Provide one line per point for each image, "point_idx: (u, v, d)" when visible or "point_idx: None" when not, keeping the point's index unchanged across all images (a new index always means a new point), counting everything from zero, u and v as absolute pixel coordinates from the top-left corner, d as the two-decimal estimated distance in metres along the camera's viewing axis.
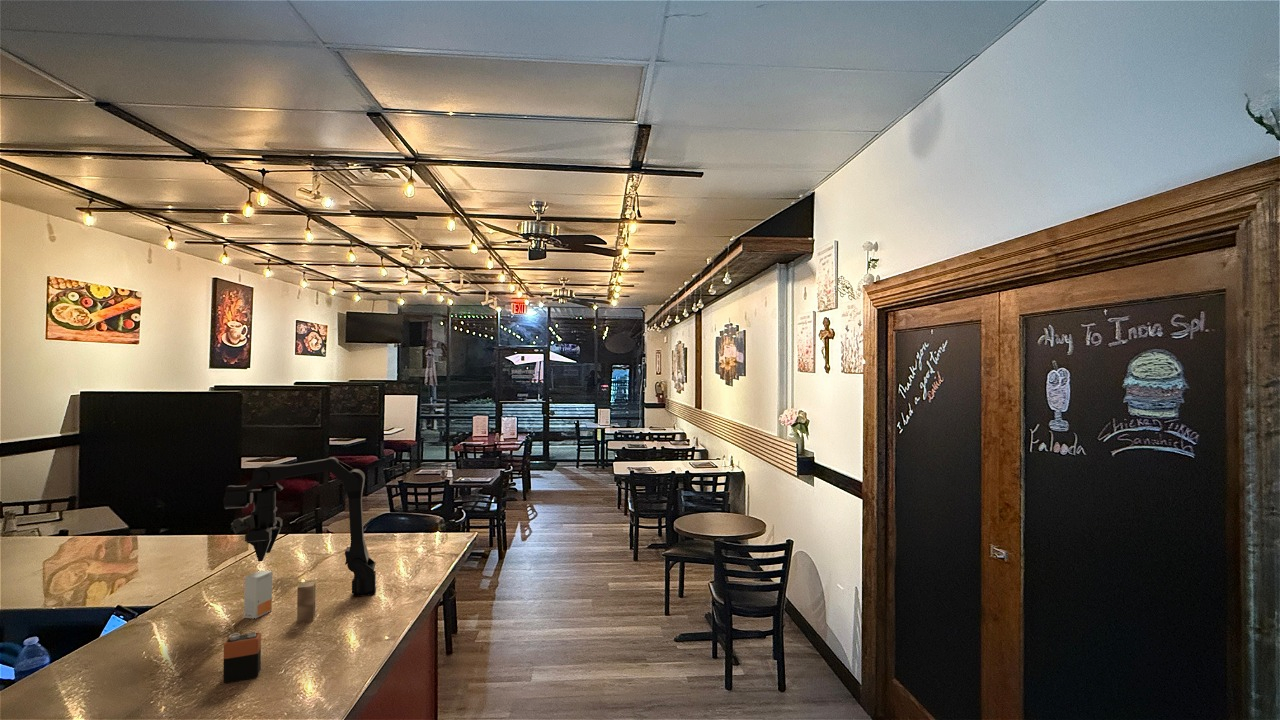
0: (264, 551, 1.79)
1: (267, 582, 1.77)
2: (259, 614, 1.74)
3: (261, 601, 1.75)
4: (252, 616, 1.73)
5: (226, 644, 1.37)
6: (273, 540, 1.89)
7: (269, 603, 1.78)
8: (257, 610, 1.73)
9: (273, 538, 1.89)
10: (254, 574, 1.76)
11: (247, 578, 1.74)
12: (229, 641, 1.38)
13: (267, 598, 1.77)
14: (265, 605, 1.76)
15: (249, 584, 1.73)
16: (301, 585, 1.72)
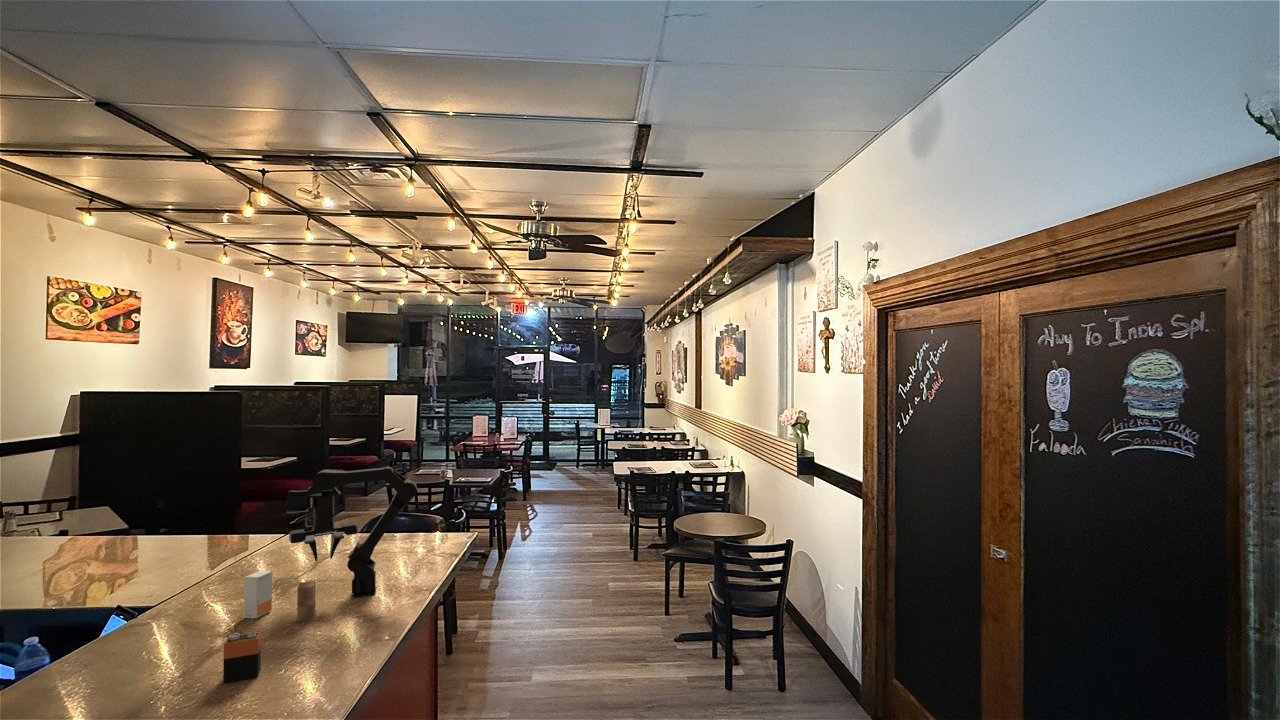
0: (312, 552, 1.86)
1: (267, 582, 1.77)
2: (259, 614, 1.74)
3: (261, 601, 1.75)
4: (252, 616, 1.73)
5: (226, 644, 1.37)
6: (332, 548, 1.90)
7: (269, 603, 1.78)
8: (257, 610, 1.73)
9: (332, 545, 1.90)
10: (254, 574, 1.76)
11: (247, 578, 1.74)
12: (229, 641, 1.38)
13: (267, 598, 1.77)
14: (265, 605, 1.76)
15: (249, 584, 1.73)
16: (301, 585, 1.72)
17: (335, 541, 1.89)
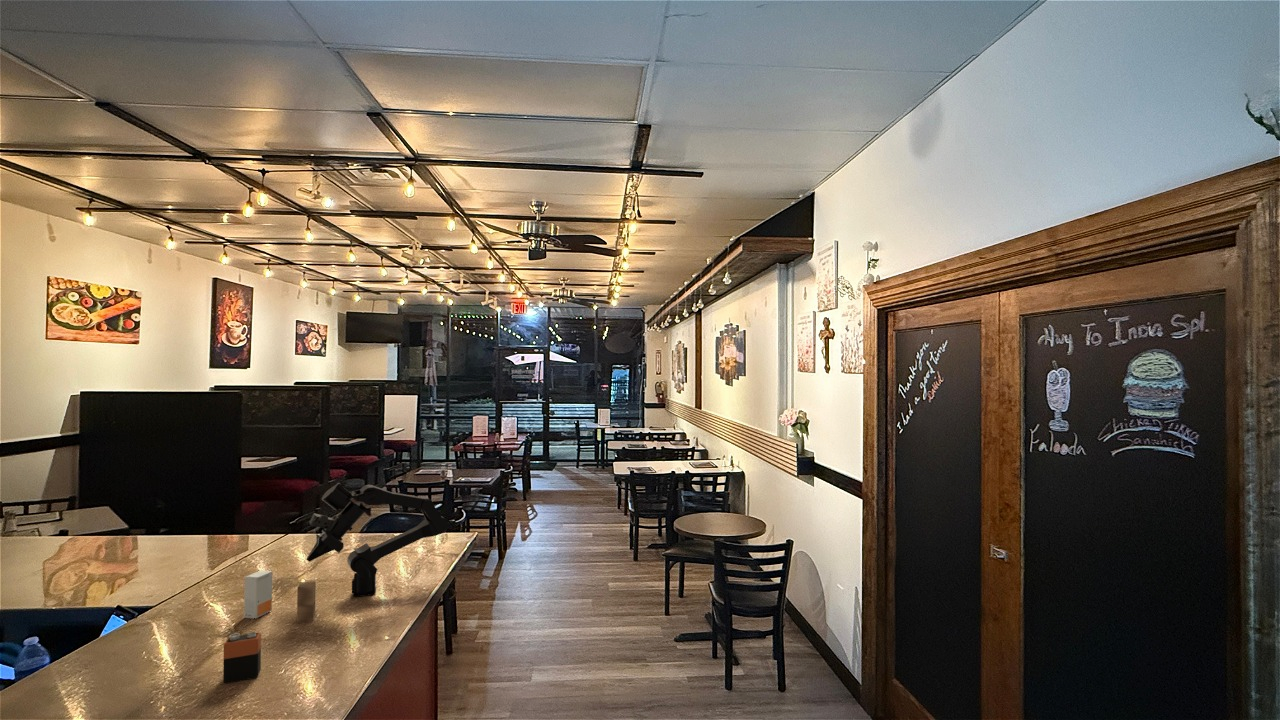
0: (319, 555, 1.85)
1: (267, 582, 1.77)
2: (259, 614, 1.74)
3: (261, 601, 1.75)
4: (252, 616, 1.73)
5: (226, 644, 1.37)
6: None
7: (269, 603, 1.78)
8: (257, 610, 1.73)
9: None
10: (254, 574, 1.76)
11: (247, 578, 1.74)
12: (229, 641, 1.38)
13: (267, 598, 1.77)
14: (265, 605, 1.76)
15: (249, 584, 1.73)
16: (301, 585, 1.72)
17: None
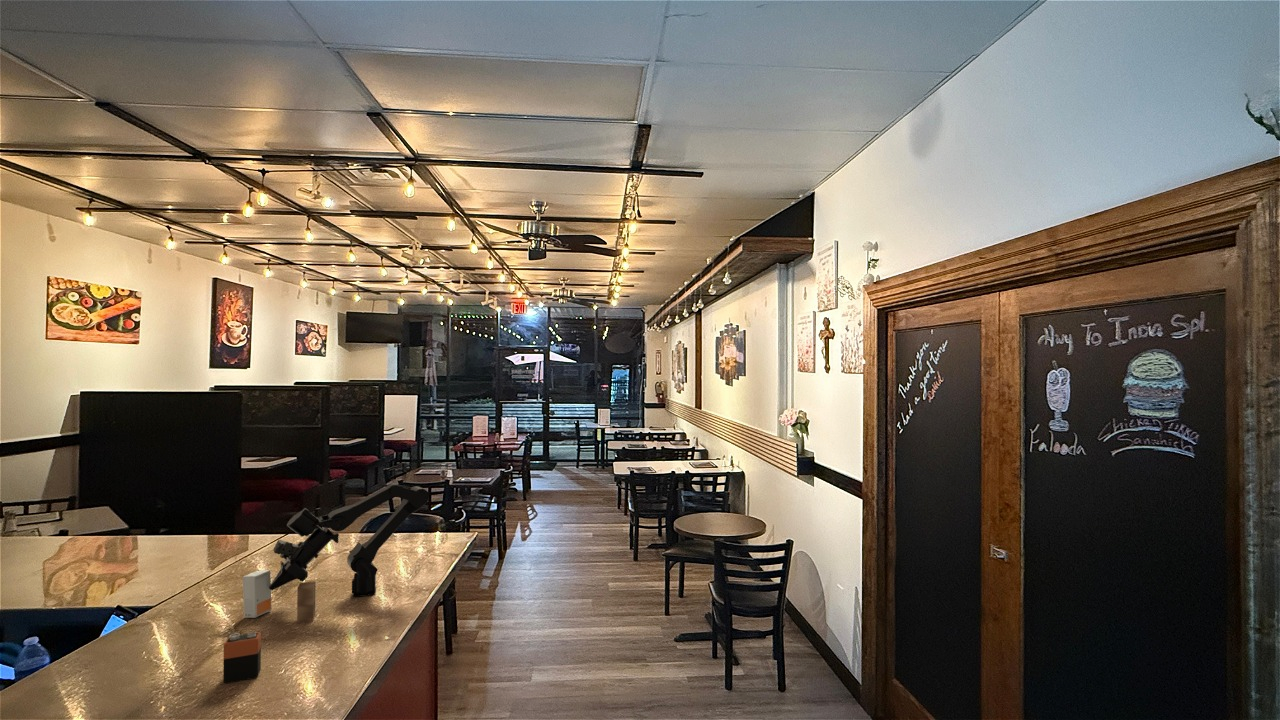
0: (282, 583, 1.79)
1: (265, 581, 1.77)
2: (259, 613, 1.74)
3: (260, 600, 1.75)
4: (252, 615, 1.73)
5: (226, 644, 1.37)
6: None
7: (268, 602, 1.78)
8: (256, 609, 1.73)
9: None
10: (252, 574, 1.76)
11: (245, 578, 1.74)
12: (229, 641, 1.38)
13: (266, 597, 1.77)
14: (264, 604, 1.76)
15: (247, 583, 1.74)
16: (301, 585, 1.72)
17: None
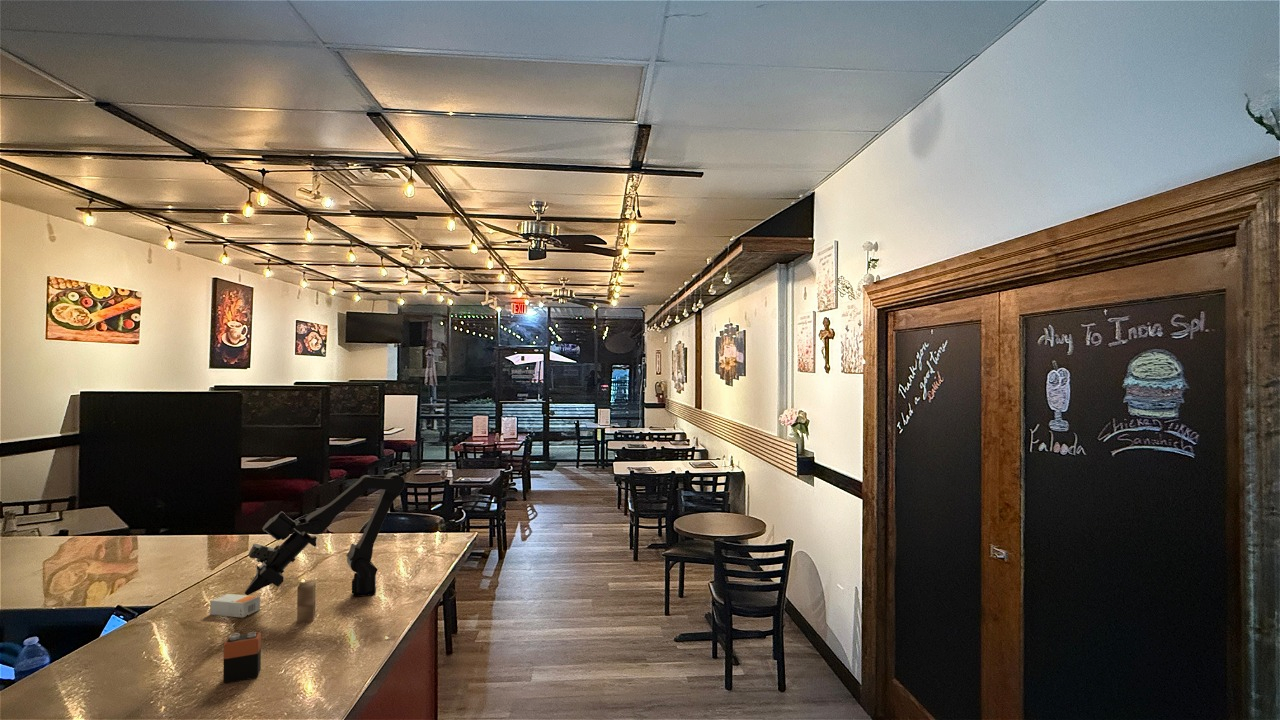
0: (258, 588, 1.75)
1: (229, 596, 1.79)
2: (244, 601, 1.75)
3: (236, 599, 1.76)
4: (241, 607, 1.74)
5: (226, 644, 1.37)
6: None
7: (249, 596, 1.79)
8: (238, 602, 1.75)
9: None
10: None
11: (210, 611, 1.76)
12: (229, 641, 1.38)
13: (242, 597, 1.79)
14: (244, 598, 1.77)
15: (215, 609, 1.76)
16: (301, 585, 1.72)
17: None
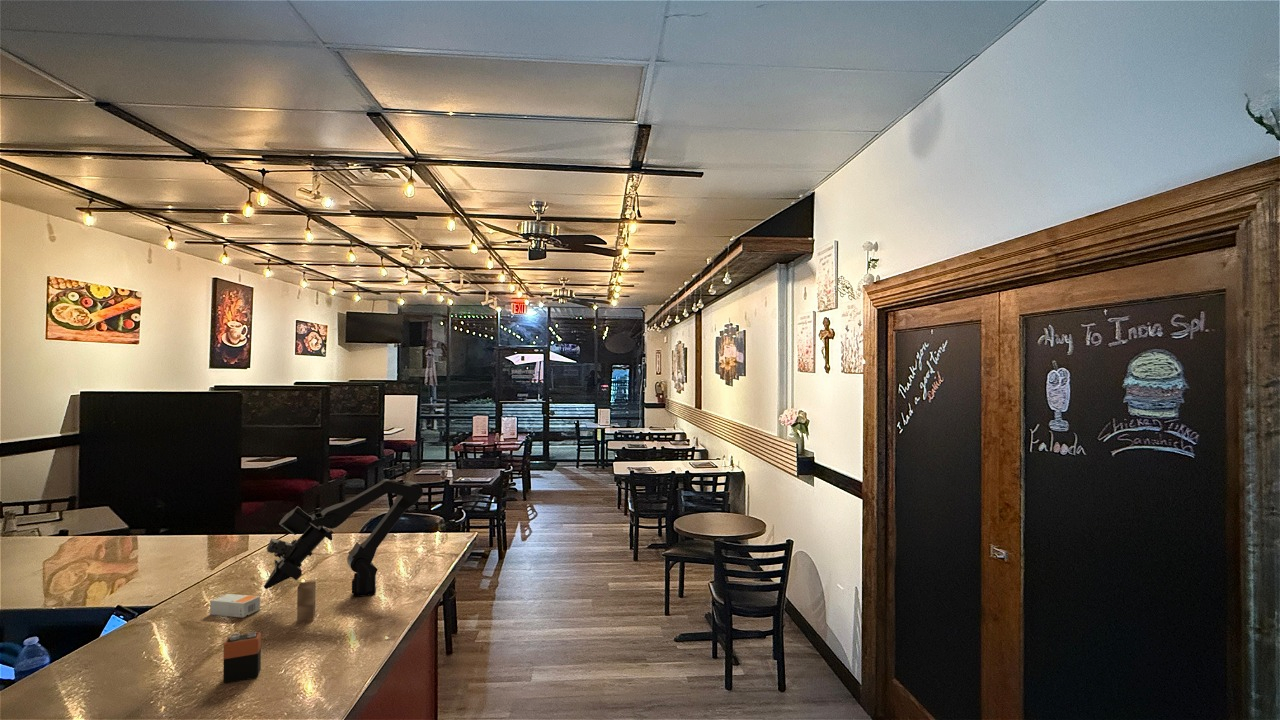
0: (277, 582, 1.78)
1: (229, 596, 1.79)
2: (244, 601, 1.75)
3: (236, 599, 1.76)
4: (241, 607, 1.74)
5: (226, 644, 1.37)
6: None
7: (249, 596, 1.79)
8: (238, 602, 1.75)
9: None
10: None
11: (210, 611, 1.76)
12: (229, 641, 1.38)
13: (242, 597, 1.79)
14: (244, 598, 1.77)
15: (215, 609, 1.76)
16: (301, 585, 1.72)
17: None
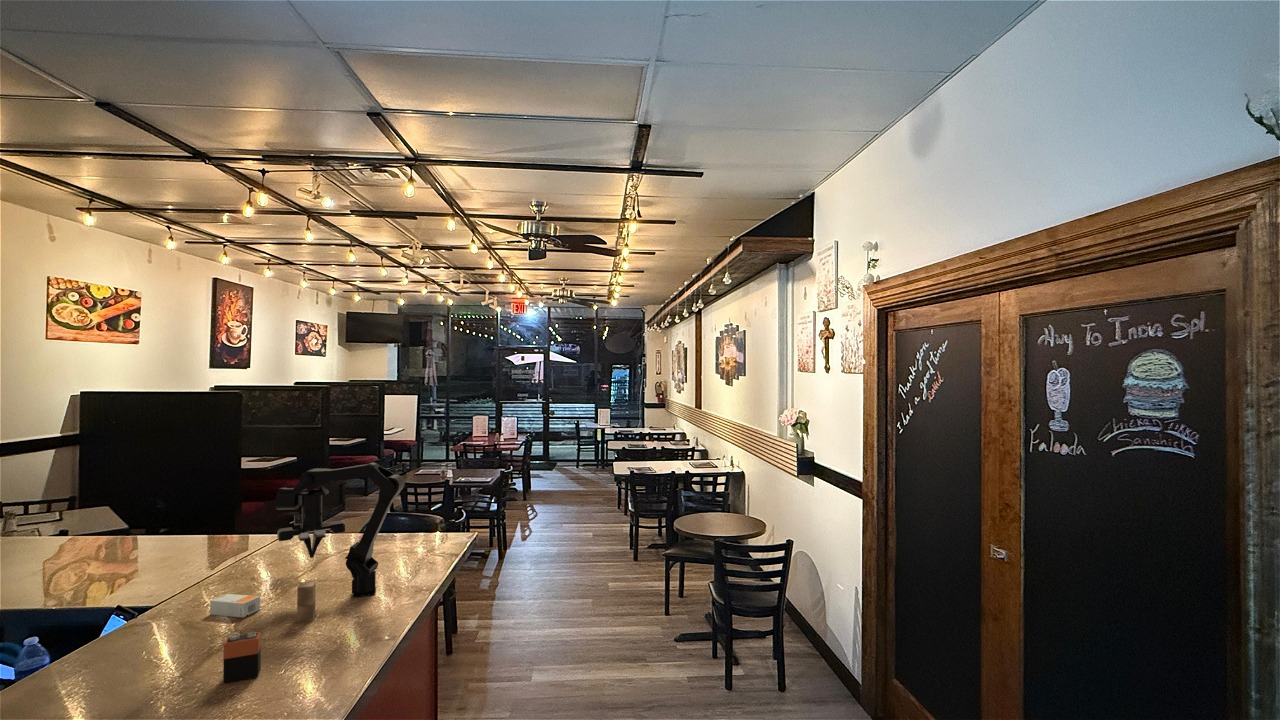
0: (307, 549, 1.90)
1: (229, 596, 1.79)
2: (244, 601, 1.75)
3: (236, 599, 1.76)
4: (241, 607, 1.74)
5: (226, 644, 1.37)
6: (313, 547, 1.91)
7: (249, 596, 1.79)
8: (238, 602, 1.75)
9: (313, 544, 1.91)
10: None
11: (210, 611, 1.76)
12: (229, 641, 1.38)
13: (242, 597, 1.79)
14: (244, 598, 1.77)
15: (215, 609, 1.76)
16: (301, 585, 1.72)
17: (316, 540, 1.90)
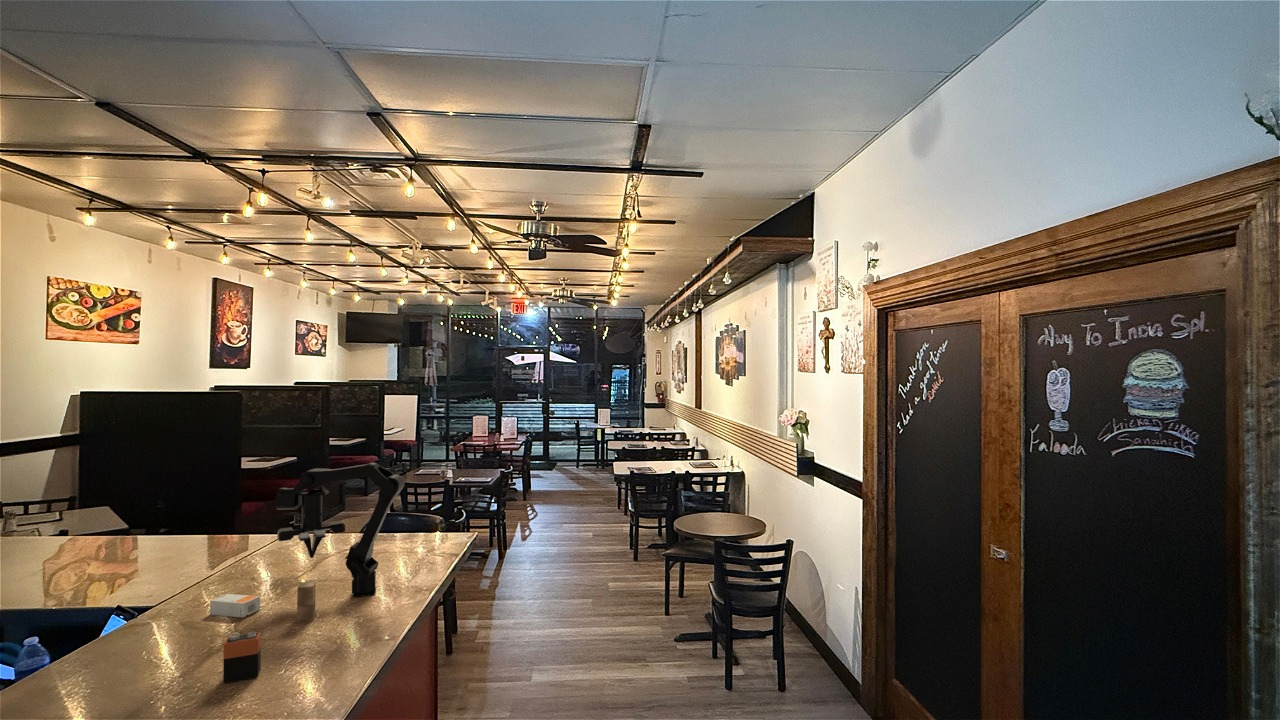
0: (307, 549, 1.90)
1: (229, 596, 1.79)
2: (244, 601, 1.75)
3: (236, 599, 1.76)
4: (241, 607, 1.74)
5: (226, 644, 1.37)
6: (313, 547, 1.91)
7: (249, 596, 1.79)
8: (238, 602, 1.75)
9: (313, 544, 1.91)
10: None
11: (210, 611, 1.76)
12: (229, 641, 1.38)
13: (242, 597, 1.79)
14: (244, 598, 1.77)
15: (215, 609, 1.76)
16: (301, 585, 1.72)
17: (316, 540, 1.90)
